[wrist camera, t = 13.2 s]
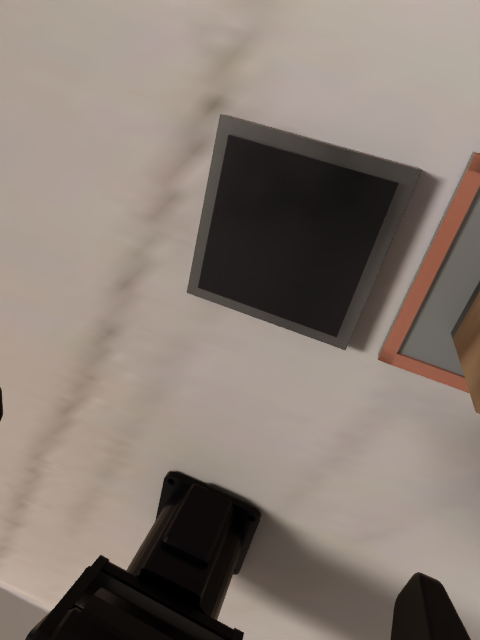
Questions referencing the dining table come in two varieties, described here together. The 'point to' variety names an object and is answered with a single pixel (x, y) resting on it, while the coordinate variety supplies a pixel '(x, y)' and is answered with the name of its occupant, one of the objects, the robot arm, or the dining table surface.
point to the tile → (440, 290)
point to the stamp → (470, 345)
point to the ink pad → (295, 228)
